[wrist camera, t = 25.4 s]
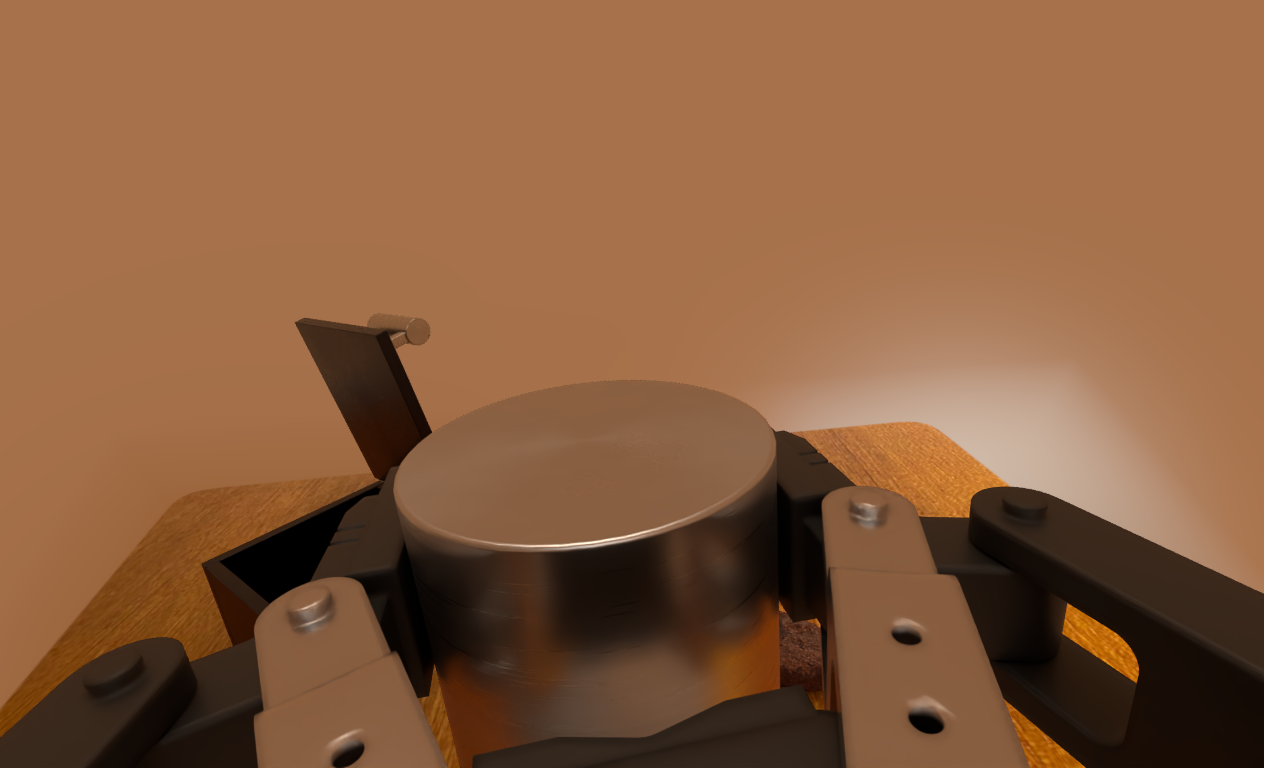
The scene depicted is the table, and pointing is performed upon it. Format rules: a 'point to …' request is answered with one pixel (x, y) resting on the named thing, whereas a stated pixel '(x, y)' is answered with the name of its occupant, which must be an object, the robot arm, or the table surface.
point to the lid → (372, 383)
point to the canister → (594, 560)
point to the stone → (799, 653)
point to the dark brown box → (274, 564)
